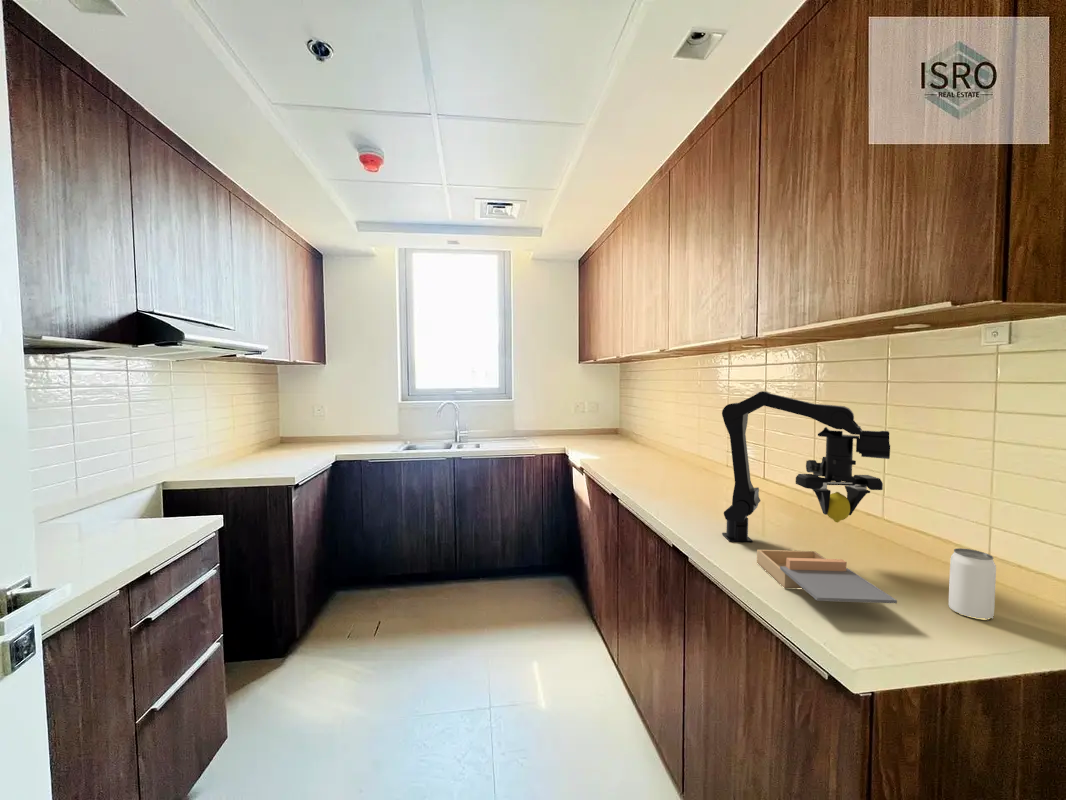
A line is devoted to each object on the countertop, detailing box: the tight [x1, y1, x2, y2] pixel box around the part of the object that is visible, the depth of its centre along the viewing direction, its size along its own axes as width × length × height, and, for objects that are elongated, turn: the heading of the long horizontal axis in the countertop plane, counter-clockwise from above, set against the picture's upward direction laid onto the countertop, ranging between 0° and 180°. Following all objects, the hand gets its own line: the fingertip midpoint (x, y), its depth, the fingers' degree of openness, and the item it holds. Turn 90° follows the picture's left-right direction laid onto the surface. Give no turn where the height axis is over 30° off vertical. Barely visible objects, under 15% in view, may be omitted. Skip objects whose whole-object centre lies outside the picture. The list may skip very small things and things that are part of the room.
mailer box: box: [756, 549, 827, 590], centre depth 106 cm, size 14×14×4 cm
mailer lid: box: [780, 558, 898, 604], centre depth 93 cm, size 15×15×3 cm
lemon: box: [826, 491, 850, 523], centre depth 116 cm, size 6×6×8 cm
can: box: [948, 548, 997, 619], centre depth 89 cm, size 6×6×12 cm
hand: (836, 514), depth 116 cm, fingers closed on lemon, 5 cm apart
